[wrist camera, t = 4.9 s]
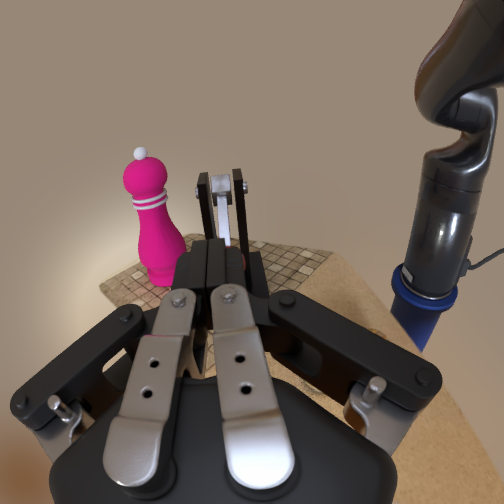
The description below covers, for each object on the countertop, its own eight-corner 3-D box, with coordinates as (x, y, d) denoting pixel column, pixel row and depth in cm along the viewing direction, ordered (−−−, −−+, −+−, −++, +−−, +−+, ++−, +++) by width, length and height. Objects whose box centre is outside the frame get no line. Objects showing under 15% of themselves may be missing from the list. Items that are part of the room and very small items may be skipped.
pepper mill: (199, 265, 45) (177, 138, 34) (175, 293, 40) (141, 153, 29) (163, 258, 48) (137, 142, 37) (138, 283, 42) (101, 157, 31)
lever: (248, 286, 28) (246, 269, 25) (211, 290, 28) (206, 273, 25) (236, 190, 36) (235, 169, 32) (208, 194, 35) (204, 172, 32)
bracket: (271, 309, 36) (266, 189, 27) (200, 317, 35) (173, 199, 27) (260, 257, 46) (253, 159, 37) (203, 263, 46) (187, 167, 37)
